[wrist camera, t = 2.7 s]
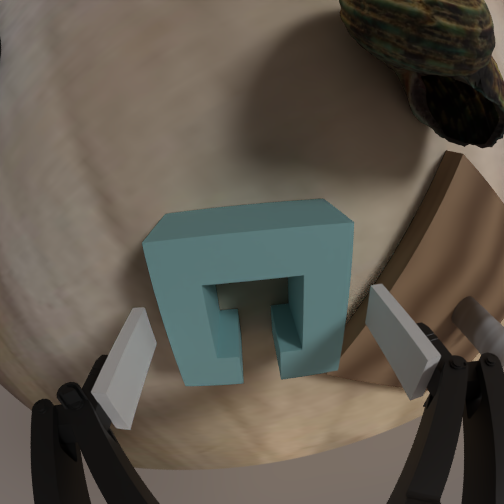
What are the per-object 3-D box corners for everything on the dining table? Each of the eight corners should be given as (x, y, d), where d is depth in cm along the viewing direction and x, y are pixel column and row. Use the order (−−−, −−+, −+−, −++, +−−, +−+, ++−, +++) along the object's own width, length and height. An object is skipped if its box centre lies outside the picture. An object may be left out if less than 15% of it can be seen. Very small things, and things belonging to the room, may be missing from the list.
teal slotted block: (165, 213, 17) (141, 242, 12) (323, 198, 17) (354, 222, 13) (193, 338, 21) (185, 386, 16) (319, 325, 21) (338, 370, 17)
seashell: (331, 140, 16) (434, 155, 7) (306, -15, 11) (361, -102, 2) (453, 144, 16) (557, 170, 7) (433, 12, 11) (520, -17, 2)
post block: (320, 358, 23) (349, 444, 15) (446, 150, 16) (539, 175, 8) (438, 381, 27) (468, 430, 19) (526, 250, 20) (574, 285, 12)
